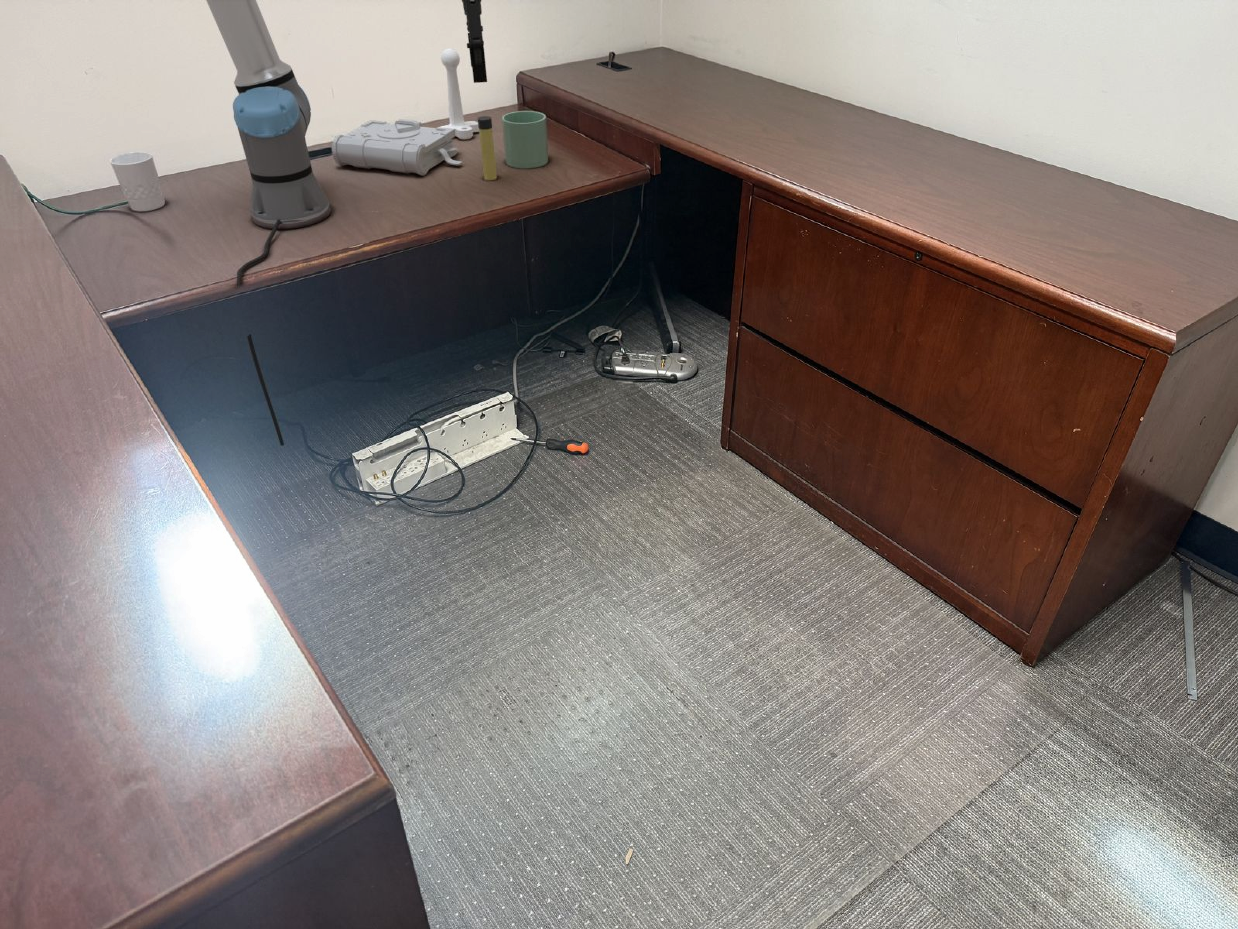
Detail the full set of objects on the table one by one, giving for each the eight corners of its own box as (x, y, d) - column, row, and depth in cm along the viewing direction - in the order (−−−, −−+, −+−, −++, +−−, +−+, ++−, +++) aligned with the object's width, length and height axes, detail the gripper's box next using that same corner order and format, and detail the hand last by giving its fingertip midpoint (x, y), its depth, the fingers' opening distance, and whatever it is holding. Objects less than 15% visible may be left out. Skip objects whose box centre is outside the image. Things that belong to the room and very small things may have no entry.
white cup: (153, 214, 174) (135, 165, 168) (119, 211, 176) (100, 162, 170) (176, 200, 180) (160, 152, 174) (143, 197, 182) (126, 150, 176)
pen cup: (550, 166, 196) (547, 122, 189) (507, 169, 194) (503, 124, 188) (546, 153, 203) (543, 109, 197) (504, 155, 202) (500, 111, 196)
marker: (497, 179, 189) (491, 119, 181) (484, 180, 189) (477, 120, 181) (496, 175, 191) (491, 115, 183) (483, 176, 191) (477, 116, 183)
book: (440, 181, 188) (436, 146, 184) (331, 168, 195) (325, 133, 191) (478, 156, 203) (475, 123, 199) (375, 144, 210) (370, 112, 205)
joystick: (472, 128, 219) (464, 44, 207) (488, 135, 215) (480, 49, 203) (434, 136, 214) (424, 49, 202) (449, 143, 209) (440, 55, 197)
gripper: (489, -35, 155) (500, 88, 168) (483, -53, 174) (493, 59, 187) (448, -34, 154) (462, 90, 167) (446, -52, 173) (459, 60, 186)
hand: (478, 73), depth 177 cm, fingers open, 13 cm apart
